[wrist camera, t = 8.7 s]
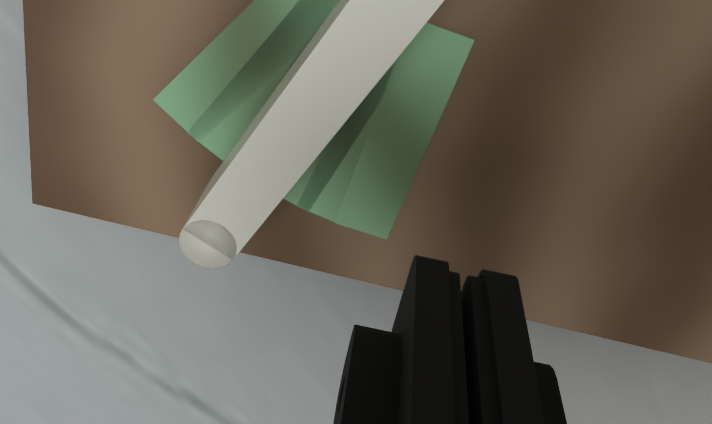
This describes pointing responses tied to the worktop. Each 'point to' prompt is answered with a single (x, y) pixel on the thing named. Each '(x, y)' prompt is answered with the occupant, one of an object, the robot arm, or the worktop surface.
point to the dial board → (414, 145)
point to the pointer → (299, 121)
